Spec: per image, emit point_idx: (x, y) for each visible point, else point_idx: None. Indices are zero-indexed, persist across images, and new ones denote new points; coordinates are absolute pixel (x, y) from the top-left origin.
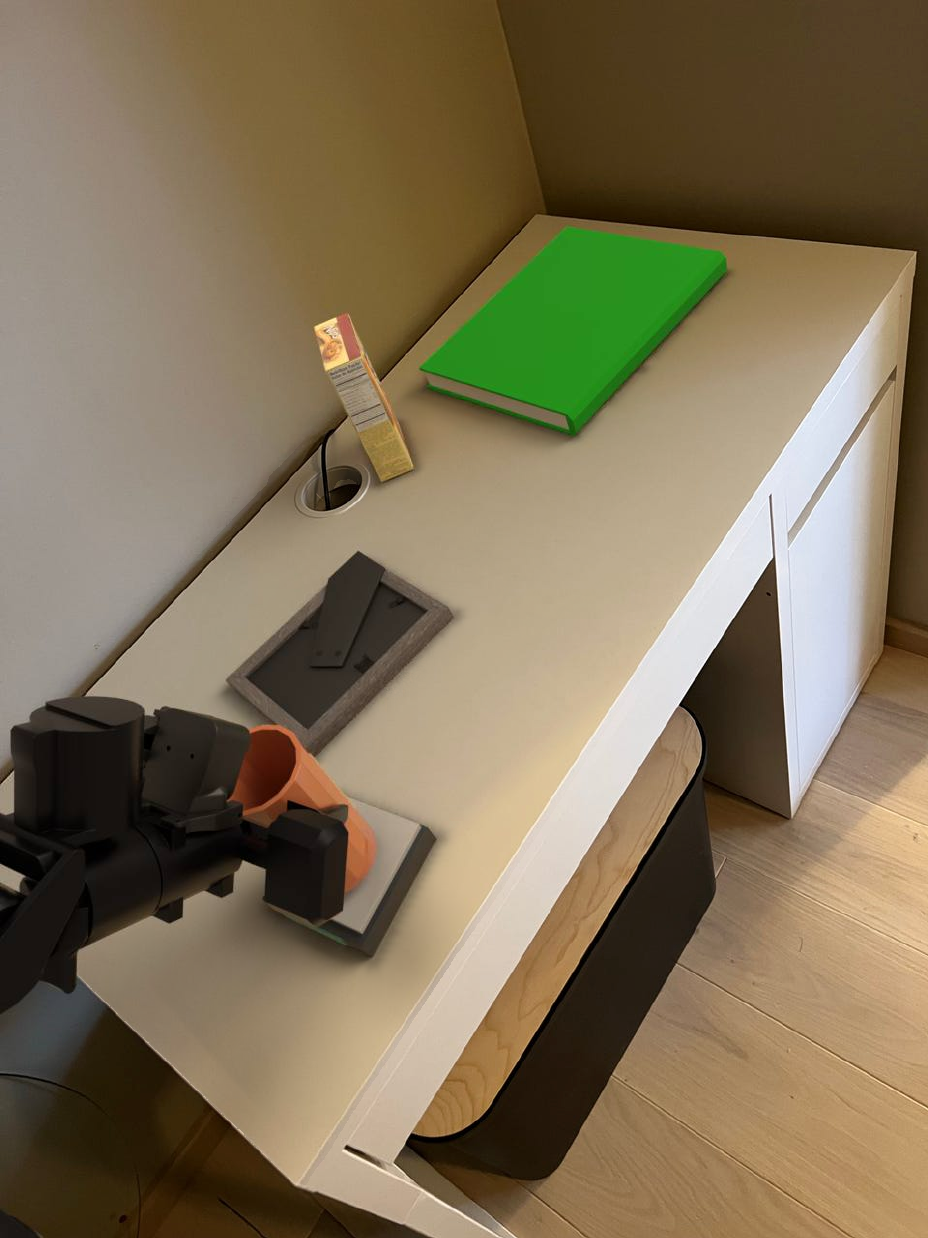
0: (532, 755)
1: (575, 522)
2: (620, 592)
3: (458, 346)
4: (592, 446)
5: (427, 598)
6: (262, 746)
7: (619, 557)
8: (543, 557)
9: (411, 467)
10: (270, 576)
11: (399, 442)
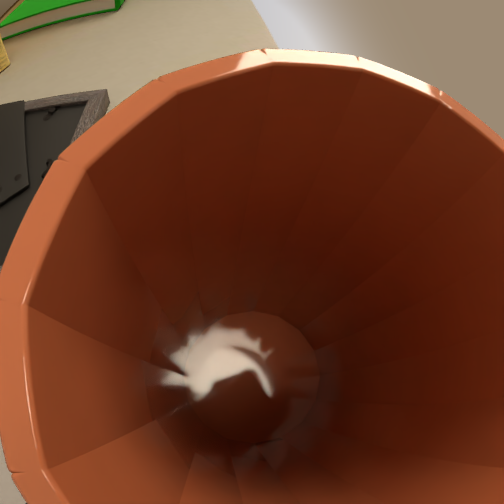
0: None
1: (160, 30)
2: (234, 46)
3: (17, 12)
4: (134, 9)
5: (80, 94)
6: (143, 234)
7: (212, 34)
8: (154, 48)
9: (9, 62)
10: None
11: (1, 42)
